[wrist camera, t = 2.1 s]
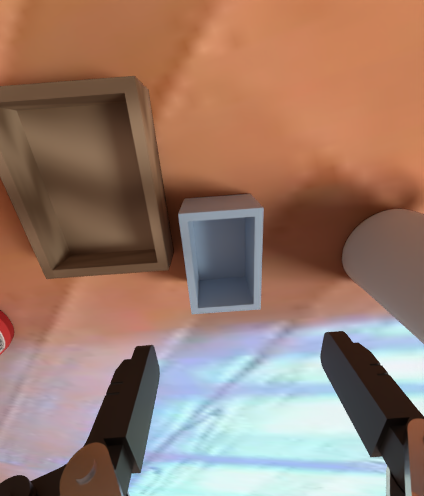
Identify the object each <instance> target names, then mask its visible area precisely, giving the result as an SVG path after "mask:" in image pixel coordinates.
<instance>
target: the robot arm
mask: <svg viewBox="0 0 424 496" xmlns="http://www.w3.org/2000/svg"><path fill="white" fill-rule="evenodd" d="M320 357H321V363H322V367H323V369H324V371H325V373H326V375H327V377H328V379H329V380H330V382H331V384H332V386H333V388H334V390H335V392H336V393H337V395H338V397H339V399H340V401H341V403H342V405H343V407H344V408H345V410H346V412H347V414H348V416H349V418H350V420H351V421H352V423H353V425H354V427H355V429H356V431H357V433H358V434H359V436H360V438H361V440H362V442H363V444H364V446H365V448H366V449H367V451H368V453H369V455H370V457H380V456H382V457H383V459H384V460H385V462H386V464H387V469H386V496H424V416H423V415H422V414H421V413H420V412H419V410H418V409H417V408H416V407H415V406H414V404H413V403H412V402H411V401H410V399H409V398H408V397H407V396H406V394H405V393H404V392H403V391H402V390H401V388H400V387H399V386H398V385H397V383H396V382H395V381H394V380H393V379H392V377H391V376H390V375H388V372H387V371H386V370H385V369H384V368H383V366H381V365H380V363H379V361H378V360H377V359H376V358H375V356H374V355H373V354H372V353H371V352H370V351H369V350H368V349H366V348H365V347H364V346H362V345H361V344H359V343H353V342H352V341H351V339H350V338H349V337H348V335H347V334H346V333H345V332H343V331H338V332H326V333H325V334H324V338H323V344H322V350H321V356H320ZM159 375H160V371H159V364H158V360H157V356H156V352H155V348H154V346H153V345H146V346H137V347H136V348H135V350H134V353H133V356H132V358H131V359H127V360H124V361H123V362H122V363H121V364H120V366H119V367H118V368H117V369H116V370H115V373H114V375H113V378H112V380H111V384H110V385H109V388H108V390H107V393H106V396H105V398H104V400H103V403H102V405H101V407H100V410H99V412H98V415H97V417H96V420H95V422H94V425H93V427H92V430H91V432H90V435H89V437H88V439H87V441H86V443H85V445H84V446H83V448H81V449H80V450H79V451H77V452H76V453H75V454H74V455H73V457H72V458H71V459H70V460H69V462H68V463H67V464H65V465H64V466H62V467H60V468H59V469H56V470H54V471H52V472H50V473H48V474H45V475H43V476H41V477H39V478H37V479H35V480H32V481H29V479H28V478H27V477H25V476H22V475H17V476H13V477H11V478H8V479H7V480H5V481H3V482H2V483H0V496H129V493H128V487H129V482H130V478H131V473H141V469H142V464H143V459H144V454H145V449H146V444H147V439H148V434H149V429H150V424H151V419H152V414H153V409H154V404H155V399H156V394H157V388H158V383H159Z"/></svg>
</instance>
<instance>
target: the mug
mask: <svg viewBox="0 0 424 496" xmlns="http://www.w3.org/2000/svg"><path fill="white" fill-rule="evenodd" d="M342 263H343V267H344V270H345V271H346V273H347V275H348V276H349V277H350V278H351V279H352V280H353V281H354V282H355V283H356V284H358V285H359V286H360V287H361V288H362V289H364V290H365V291H366V292H367V293H368V294H369V295H370V296H372V297H373V298H374V299H375V300H376V301H377V302H378V303H379V304H380V305H381V306H383V307H384V308H385V309H386V310H387V311H388V312H389V313H390V314H391V315H393V316H394V317H395V318H396V319H397V320H398V321H399V322H400V323H401V324H402V325H404V326H405V327H406V328H407V329H408V330H409V331H410V332H411V333H412V334H413V335H415V336H416V337H417V338H418V339H419V340H420V341H421V342H422V343H423V344H424V214H422V213H419V212H416V211H412V210H408V209H391V210H386V211H382V212H380V213H377V214H375V215H373V216H371V217H369V218H368V219H366V220H365V221H363V222H362V223H361V224H360V225H359V226H357V227H356V228H355V230H354V231H353V232H352V233H351V235H350V236H349V237H348V239H347V241H346V243H345V246H344V248H343V253H342Z"/></svg>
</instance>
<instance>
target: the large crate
mask: <svg viewBox="0 0 424 496" xmlns="http://www.w3.org/2000/svg"><path fill="white" fill-rule="evenodd" d="M0 178H1V180H2V182H3V184H4V186H5V189H6V191H7V193H8V195H9V197H10V200H11V202H12V204H13V206H14V209H15V211H16V213H17V215H18V217H19V220H20V222H21V224H22V226H23V228H24V231H25V233H26V235H27V237H28V239H29V242H30V244H31V246H32V248H33V251H34V253H35V255H36V257H37V259H38V262H39V264H40V266H41V268H42V270H43V273H44V275H45V277H46V279H54V278H68V277H81V276H95V275H109V274H123V273H137V272H150V271H164V270H169V267H170V264H171V260H172V257H173V253H174V250H173V244H172V238H171V231H170V225H169V219H168V212H167V206H166V199H165V193H164V187H163V180H162V174H161V167H160V161H159V155H158V148H157V142H156V136H155V129H154V123H153V116H152V110H151V104H150V97H149V91H148V89H147V88H146V87H145V86H144V85H143V84H142V83H141V82H140V81H139V80H138V79H137V78H136V77H135V76H128V77H115V78H102V79H89V80H76V81H63V82H50V83H37V84H23V85H10V86H0Z"/></svg>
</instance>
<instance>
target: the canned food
mask: <svg viewBox="0 0 424 496" xmlns="http://www.w3.org/2000/svg"><path fill="white" fill-rule="evenodd" d="M13 336H14V328H13V325H12V323H11V321H10V320H9V319H8V317H7V316H6V315H5V314H4V313H3V312H2V311H1V310H0V355H1V354H2V353H3V352H4V350H5V349H6V348H7V347H8V346H9V344H10V343H11V341H12V339H13Z"/></svg>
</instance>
